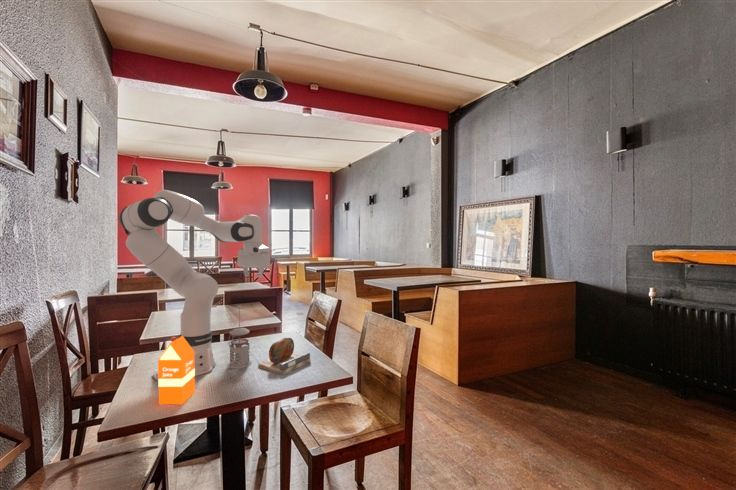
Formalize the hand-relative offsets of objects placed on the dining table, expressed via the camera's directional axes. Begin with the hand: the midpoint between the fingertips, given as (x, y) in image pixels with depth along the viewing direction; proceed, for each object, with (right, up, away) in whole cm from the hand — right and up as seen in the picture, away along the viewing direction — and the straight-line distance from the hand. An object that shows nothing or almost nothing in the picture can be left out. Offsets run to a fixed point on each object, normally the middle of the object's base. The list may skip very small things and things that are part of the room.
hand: (253, 276), depth 171 cm
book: (+21, -35, -23) cm, 47 cm away
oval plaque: (+19, -33, -22) cm, 44 cm away
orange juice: (-8, -36, -53) cm, 65 cm away
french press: (+1, -35, -23) cm, 41 cm away
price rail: (+26, -33, -27) cm, 50 cm away
